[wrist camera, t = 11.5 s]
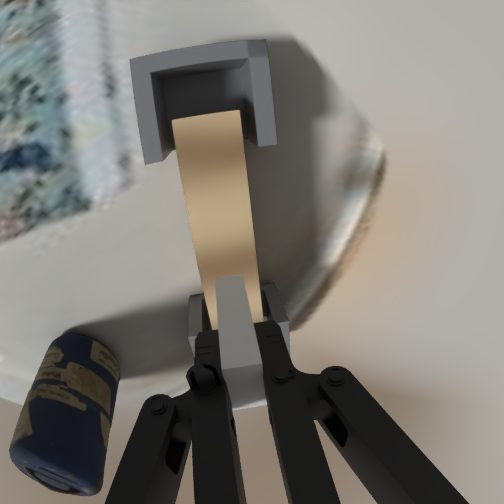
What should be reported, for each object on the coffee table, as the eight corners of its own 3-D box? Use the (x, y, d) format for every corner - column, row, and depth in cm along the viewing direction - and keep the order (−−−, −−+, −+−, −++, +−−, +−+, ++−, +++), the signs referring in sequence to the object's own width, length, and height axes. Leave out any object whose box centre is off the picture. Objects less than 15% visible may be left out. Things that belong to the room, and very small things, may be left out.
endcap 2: (278, 335, 34) (290, 374, 28) (203, 347, 33) (204, 388, 28) (274, 282, 30) (288, 320, 25) (189, 296, 30) (187, 336, 25)
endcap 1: (147, 70, 20) (129, 59, 15) (252, 54, 21) (266, 39, 16) (159, 151, 24) (144, 164, 18) (261, 136, 24) (277, 144, 19)
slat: (180, 117, 22) (171, 120, 17) (232, 109, 22) (239, 110, 17) (218, 325, 31) (222, 368, 26) (257, 319, 31) (267, 361, 26)
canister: (79, 315, 29) (24, 459, 13) (138, 366, 33) (121, 507, 17) (39, 347, 31) (-9, 466, 15) (93, 391, 35) (69, 508, 19)
